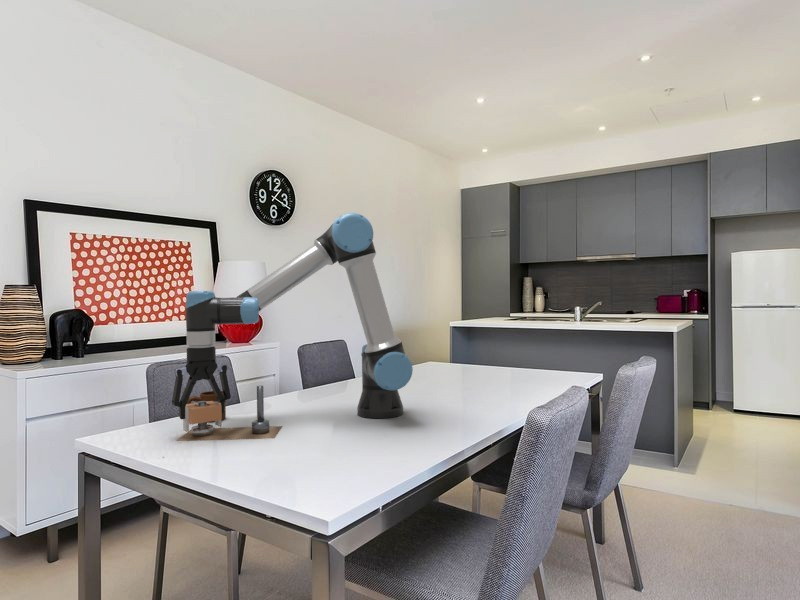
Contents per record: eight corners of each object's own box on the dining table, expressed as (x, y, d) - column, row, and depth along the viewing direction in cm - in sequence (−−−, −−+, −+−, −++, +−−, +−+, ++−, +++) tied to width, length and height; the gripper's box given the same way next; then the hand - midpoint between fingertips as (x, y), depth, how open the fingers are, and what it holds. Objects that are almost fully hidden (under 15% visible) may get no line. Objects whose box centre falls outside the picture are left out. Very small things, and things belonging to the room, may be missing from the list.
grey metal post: (215, 431, 148) (215, 399, 148) (209, 436, 142) (209, 403, 142) (195, 431, 147) (195, 400, 147) (188, 437, 142) (188, 404, 142)
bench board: (282, 429, 152) (282, 426, 152) (274, 441, 139) (274, 438, 139) (192, 432, 151) (192, 428, 151) (175, 444, 138) (175, 441, 138)
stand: (271, 429, 148) (270, 384, 148) (267, 434, 143) (267, 387, 143) (253, 430, 148) (253, 384, 148) (250, 434, 143) (249, 387, 143)
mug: (190, 429, 154) (189, 398, 154) (181, 425, 159) (181, 394, 159) (229, 423, 161) (229, 392, 161) (220, 418, 167) (219, 389, 167)
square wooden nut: (212, 414, 150) (211, 400, 150) (221, 419, 144) (221, 405, 144) (183, 419, 145) (182, 404, 145) (191, 424, 139) (191, 409, 139)
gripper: (233, 342, 154) (234, 419, 154) (157, 348, 141) (158, 431, 141) (242, 344, 148) (244, 424, 148) (164, 350, 135) (166, 437, 135)
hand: (202, 427), depth 145 cm, fingers closed on square wooden nut, 8 cm apart
